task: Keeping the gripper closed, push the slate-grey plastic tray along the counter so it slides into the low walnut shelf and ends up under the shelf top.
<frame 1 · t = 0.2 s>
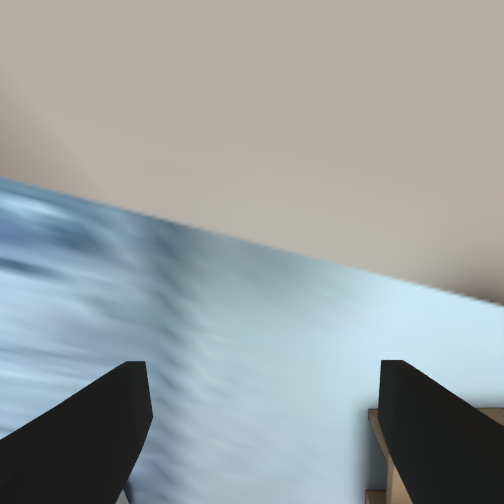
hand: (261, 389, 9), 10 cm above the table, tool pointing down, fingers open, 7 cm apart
shelf: (495, 460, 21), on the table
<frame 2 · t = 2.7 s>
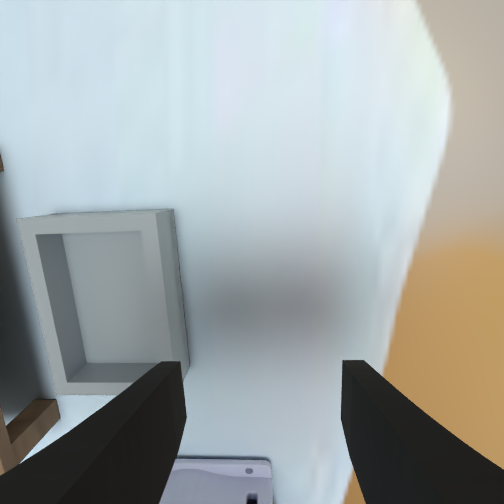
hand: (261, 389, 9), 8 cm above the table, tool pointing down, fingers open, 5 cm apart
tray: (125, 293, 18), on the table
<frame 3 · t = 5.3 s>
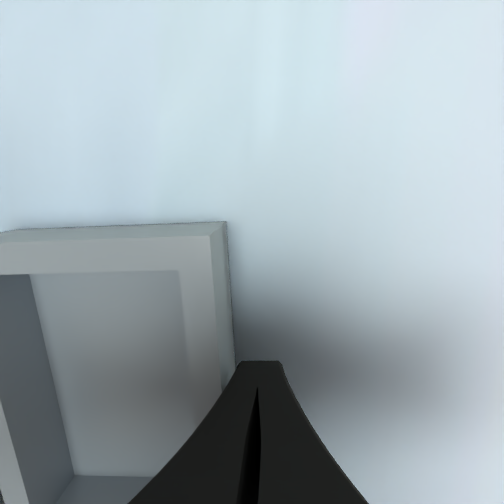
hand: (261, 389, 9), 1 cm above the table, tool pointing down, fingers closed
tray: (139, 362, 10), on the table, touching gripper
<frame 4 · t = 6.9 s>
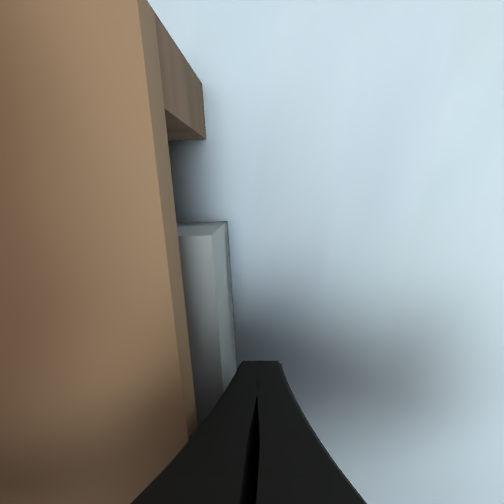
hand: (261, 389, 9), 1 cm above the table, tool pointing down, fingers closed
shelf: (104, 363, 11), on the table
tray: (140, 362, 10), on the table, touching gripper
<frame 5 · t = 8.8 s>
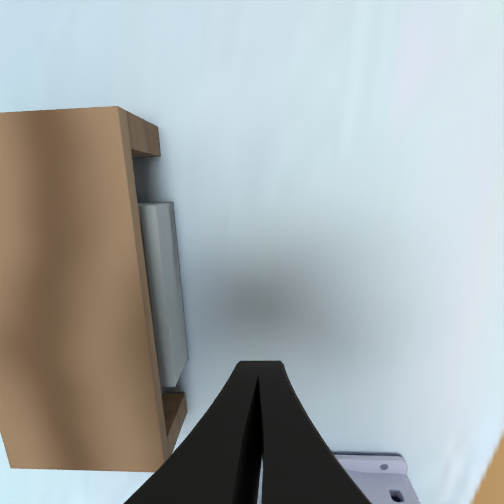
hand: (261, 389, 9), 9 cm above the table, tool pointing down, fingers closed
shelf: (104, 287, 18), on the table
tray: (124, 286, 18), on the table
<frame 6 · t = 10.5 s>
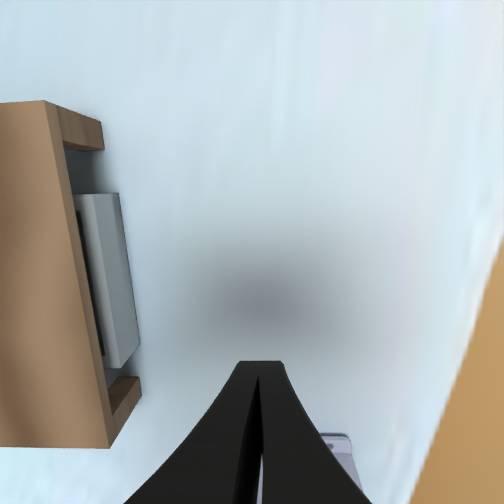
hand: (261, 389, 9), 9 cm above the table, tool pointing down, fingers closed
shelf: (57, 275, 19), on the table
tray: (77, 274, 18), on the table
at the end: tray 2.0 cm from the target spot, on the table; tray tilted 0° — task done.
